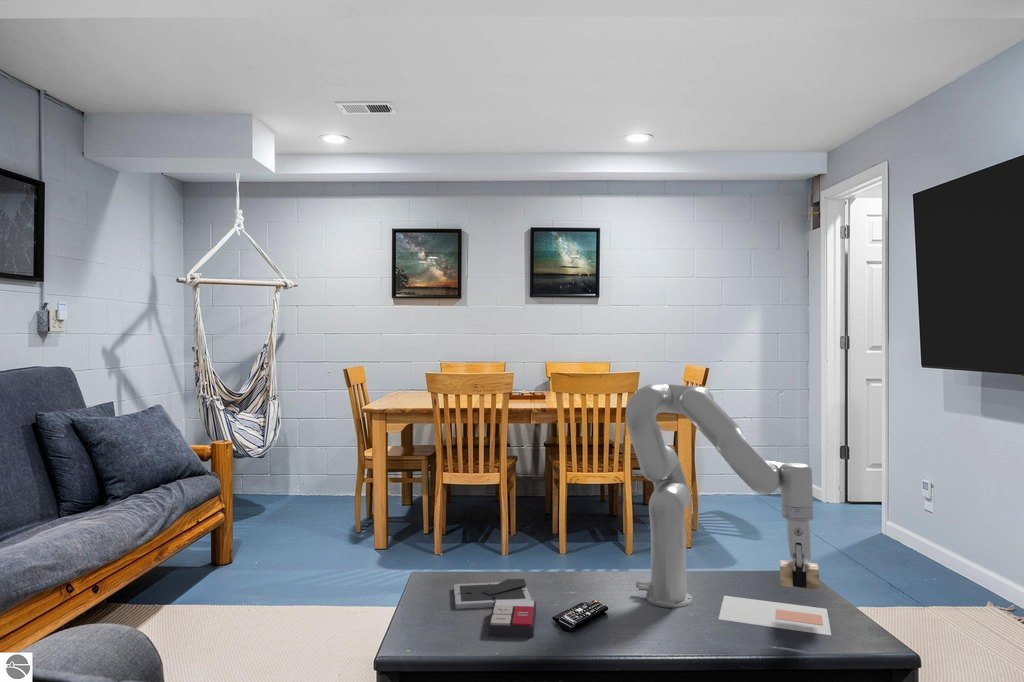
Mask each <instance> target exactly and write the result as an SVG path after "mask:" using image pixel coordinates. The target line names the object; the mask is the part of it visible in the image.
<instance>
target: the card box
mask: <svg viewBox="0 0 1024 682" xmlns="http://www.w3.org/2000/svg"><path fill="white" fill-rule="evenodd" d="M795 563H796V561H795ZM802 563H803V562H802ZM792 570H793V560H783V559H782V560H781V559H780V560H779V579H780V587H790V588H796V589H797V588H798V589H803V588H802V587H794V586H793V575H792ZM805 571H806V582H807V587H806V588H804V589H807V590H817V591H820V572H819V571H820V570H819V564H818V563H815V562H806V561H805Z"/></svg>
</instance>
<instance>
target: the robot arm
mask: <svg viewBox="0 0 1024 682" xmlns="http://www.w3.org/2000/svg"><path fill="white" fill-rule="evenodd" d="M661 413H665V414H666V413H667V414H676V415H677V414H678V415H684V416H685V417H687V419H688V420H689V421H690V422H691V423H692V424H693V425H694V426H695V427H696V429H697V430H699V432H701V434H703V436H704V437H705V438H707V440H708V441H709V442H710V443H711V444H712V446H714V448H715V450H716V451H717V452H718V454H720V456H721V457H722V458H723V460H725V462H726V463H727V464H728V466H729V467H730V468H731V469H732V470H733V472H734V473H735V474H736V475H737V476H738V477H739V478H740V479H741V480H742V481H743V482H744V483H745V485H747V486H748V487H749V488H750V489H751V490H752V491H754V492H755V493H757V494H759V495H769V494H772V493H773V492H775V491H776V490H777V488H778V489H780V497H781V498H780V499H781V500H780V502H781V503H780V504H781V518H783V519H786V530H787V532H786V533H787V545H788V551H789V558H790V559H792V561H793V570H792V575H793V586H794V587H793V588H796V587H802V588H801V589H805V588H806V587H807V582H806V571H805V562H806V560H807V561H810V560H812V555H811V553H812V552H811V529H810V528H811V527H810V521H813V520H814V499H813V498H814V497H813V494H814V492H813V470H812V468H811V466H810V465H808V464H807V463H801V462H788V463H787V462H786V463H784V462H779V461H773V460H772V461H771V460H765V459H763V458H762V457H761V456H760V455H759V454H758V453H757V452H756V450H755V449H754V448H753V447H752V446H751V444H750V443H749V442H748V440H747V439H746V437H745V435H744V433H743V431H742V429H741V427H740V425H739V424H737V422H736V421H734V420H733V418H732V417H731V416H730V415H729V414H728V413H727V412H726V411H725V410H724V409H723V408H722V407H721V406H720V405H719V404H718V403H717V402H716V401H715V399H714V395H713V394H712V392H711V391H710V390H709V389H708V388H706V387H703V386H697V385H680V384H679V385H678V384H669V383H651V384H647V385H644V386H641V387H640V388H638V389H637V390H636V391H635V393H633V395H632V396H631V397H630V398H629V400H628V402H627V405H626V408H625V422H626V426H627V431H628V433H629V435H630V439H631V442H632V446H633V449H634V452H635V456H636V458H637V462H638V465H639V469H640V472H641V474H642V476H643V477H644V478H645V479H646V480H647V481H650V482H652V483H653V487H654V489H655V490H654V491H652V493H651V495H650V498H649V501H648V514H649V523H650V525H649V526H650V527H649V528H650V571H651V572H650V578H651V580H647V581H643V580H636V582H635V587H636V588H638V591H646V592H645V599H646V601H647V602H648V603H649V604H651V605H654V606H656V607H660V608H661V607H662V608H668V609H673V608H682V607H687V606H689V605H691V604H692V603H693V596H692V595H691V594H690V593H688V591H687V533H686V532H687V531H686V522H685V521H686V520H685V514H686V513H685V512H686V510H687V509H688V507H689V505H690V504H691V493H690V492H691V491H690V488H689V486H688V482H687V479H686V476H685V473H684V471H683V468H682V464H681V461H680V459H679V456H678V454H677V453H676V452H675V450H674V449H673V448H672V447H671V446H668V445H666V444H665V442H664V438H663V435H662V432H661V430H660V427H659V424H658V422H657V415H658V414H661ZM795 561H796V563H795ZM802 562H803V563H802Z"/></svg>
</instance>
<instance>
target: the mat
mask: <svg viewBox="0 0 1024 682" xmlns="http://www.w3.org/2000/svg"><path fill="white" fill-rule="evenodd" d="M828 613H829V612H828V609H827V608H823V607H814V606H808V605H800V604H792V603H785V602H784V603H783V602H776V601H769V600H760V599H755V598H754V599H753V598H745V597H737V596H730V595H723V599H722V603H721V607H720V611H719V615H718V620H719V621H720V620H721V621H725V622H726V621H727V622H734V623H742V624H747V625H755V626H763V627H769V628H775V629H776V628H777V629H783V630H791V631H798V632H805V633H812V634H819V635H825V636H832V632H831V624H830V619H829V615H828Z"/></svg>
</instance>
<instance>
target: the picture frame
mask: <svg viewBox="0 0 1024 682" xmlns="http://www.w3.org/2000/svg"><path fill="white" fill-rule="evenodd" d="M453 595H455V596H454V603H455V610H465V609H464V608H476V609H481V608H480V607H493V605H494V601H495V600H529V601H533V599H532V597H531V595H530V593H529V590H528V588H527V583H526V579H525V578H508V579H505V580H503V581H499V582H498V581H497V582H477V583H475V582H473V583H454V584H453Z"/></svg>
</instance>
